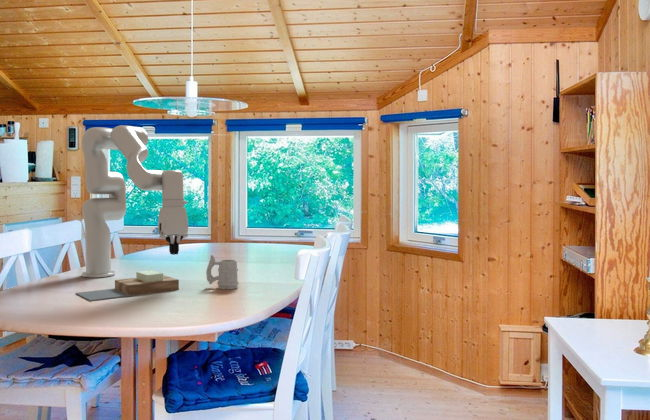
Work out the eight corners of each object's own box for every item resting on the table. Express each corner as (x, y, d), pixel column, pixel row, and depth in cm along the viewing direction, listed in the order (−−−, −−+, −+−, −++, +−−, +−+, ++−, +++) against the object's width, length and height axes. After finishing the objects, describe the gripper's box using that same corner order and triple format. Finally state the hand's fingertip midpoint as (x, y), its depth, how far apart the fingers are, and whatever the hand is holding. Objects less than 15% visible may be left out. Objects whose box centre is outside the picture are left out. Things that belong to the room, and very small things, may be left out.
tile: (136, 278, 202) (136, 271, 202) (152, 277, 206) (152, 270, 206) (146, 282, 195) (146, 275, 195) (163, 280, 199) (163, 273, 199)
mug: (237, 289, 202) (237, 256, 201) (204, 289, 201) (204, 256, 201) (240, 285, 209) (240, 253, 209) (208, 285, 209) (208, 253, 208)
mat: (75, 294, 191) (75, 292, 191) (116, 289, 201) (116, 288, 200) (90, 301, 180) (90, 300, 180) (133, 295, 189) (133, 294, 189)
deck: (115, 289, 199) (114, 280, 199) (163, 284, 211) (162, 274, 211) (129, 295, 189) (129, 285, 189) (178, 289, 201) (178, 279, 201)
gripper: (187, 203, 213) (188, 251, 213) (149, 204, 203) (150, 255, 204) (196, 203, 207) (197, 253, 208) (157, 204, 197) (159, 256, 198)
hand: (174, 254), depth 206 cm, fingers closed
